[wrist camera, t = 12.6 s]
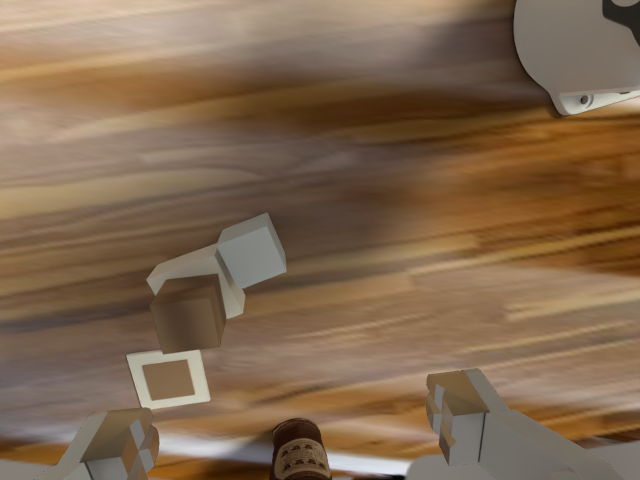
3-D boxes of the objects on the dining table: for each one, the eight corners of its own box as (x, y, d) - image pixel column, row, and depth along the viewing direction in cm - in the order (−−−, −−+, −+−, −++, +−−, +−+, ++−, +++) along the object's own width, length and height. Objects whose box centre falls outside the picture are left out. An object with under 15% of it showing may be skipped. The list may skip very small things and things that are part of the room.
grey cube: (267, 211, 38) (266, 226, 33) (285, 252, 40) (286, 271, 35) (222, 229, 38) (216, 245, 33) (242, 269, 40) (238, 290, 35)
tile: (198, 344, 42) (197, 348, 41) (210, 398, 45) (209, 402, 44) (127, 353, 41) (125, 357, 41) (143, 407, 44) (141, 412, 43)
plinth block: (219, 241, 39) (214, 255, 35) (245, 294, 41) (242, 313, 37) (158, 263, 39) (146, 279, 35) (187, 315, 41) (179, 336, 37)
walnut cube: (218, 273, 35) (209, 298, 31) (226, 317, 37) (219, 346, 33) (165, 279, 35) (149, 305, 30) (176, 323, 37) (162, 354, 32)
